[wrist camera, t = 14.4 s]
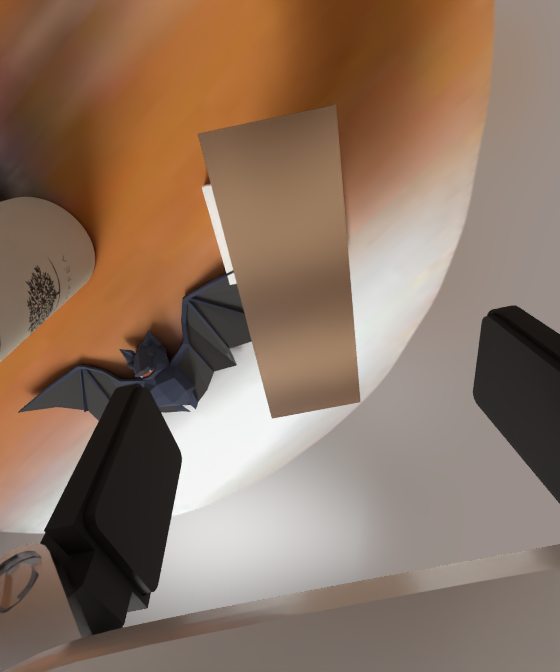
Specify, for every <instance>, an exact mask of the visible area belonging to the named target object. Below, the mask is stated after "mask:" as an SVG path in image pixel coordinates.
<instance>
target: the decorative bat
mask: <svg viewBox="0 0 560 672" xmlns="http://www.w3.org/2000/svg"><path fill="white" fill-rule="evenodd" d="M232 273H234V271H231V272H229V273H226V274H224V275H222V276H220V277H218V278H216V279H214V280H212V281H210V282H208V283H207V284H205V285H203V286H201V287H200V288H198V289H196V290H194V291H192V292H191V293H189V294H187V295H186V296H184V297H183V302H182V318H181V323H182V331H183V339H184V342H183V344H182V345H181V347H180V348H179V350H178V351H177V353H176V354H175V355H174V357H173V358H172V360H171V363H169V361H168V358H167V355H166V348H165V346H164V345H162V344H161V343H160V342H159V341H158V340H157V339H156V338H155V336H154V335H153V334H152V333H151V332H150V331H148V333H147V335H146V337H145V339H144V342H140V344H139V346H138V348H137V350H136V353H134V352H133V351H132V350H122V349H119V350H120V351H121V352H122V354H123V355H124V357H125V359H126V360H127V362H128V364H127V366H128V368H129V369H133V370H134V372H135V377H136V378H138V379H127V380H122V379H120V378H118V377H117V376H115V375H114V374H112V373H111V372H109V371H107V370H104V369H100V368H95V367H91V366H87V365H77V366H76V367H74V368H72V369H71V370H70V371H68V372H67V373H65V374H64V375H63V376H61V377H60V378H58V379H57V380H56V381H54V382H53V383H51V384H50V385H49V386H48V387H47V388H46V389H44V390H43V391H42V392H41V393H40V394H39V395H37V396H36V397H35V398H34V399H33V400H32V401H30V402H29V403H28V404H27V405H26V406H25V407H23V408H22V409H21V410H20V411H19V412H18V413H20V412H24V411H31V410H39V409H46V408H53V407H63V408H72V409H80V410H84V412H86V411H89V412H90V413H91V414H92V415H93V416H94V417H95V418H97V419H98V420H100V418H101V416H102V414H103V412H104V410H105V408H106V406H107V404H108V402H109V400H110V398H111V396H112V394H113V392H114V390H115V389H116V388H117V387H121V386H126V385H131V384H136V383H138V384H140V385H141V386H142V387H147V388H148V389H149V390H150V392H151V394H152V396H153V398H154V400H155V402H156V404H157V406H158V408H159V410H160V412H178V411H187V412H191V411H189V410H188V409H186V408H185V407H183V406H182V405H191V406H192V407H194V408H195V409H196V407H197V404H198V402H199V400H200V399H201V397H202V396H203V395H204V393H205V392H206V391H207V389H208V386H209V383H210V381H211V378H212V376H213V373H214V371H218V370H221V369H225V368H228V367H232V366H236V365H237V364H236V362H235V360H234V358H233V355H232V353H231V351H230V349H229V348H232V347H235V346H238V345H241V344H245V343H248V342H251V341H252V340H251V336H250V332H249V328H248V325H247V321H246V317H245V313H244V309H243V306H242V302H241V298H240V294H239V290H238V286H237V284H232V285H230V284H229V280H228V277H227V276H228V275H230V274H232Z"/></svg>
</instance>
